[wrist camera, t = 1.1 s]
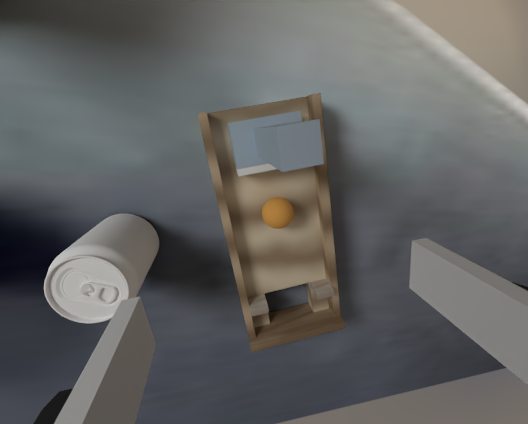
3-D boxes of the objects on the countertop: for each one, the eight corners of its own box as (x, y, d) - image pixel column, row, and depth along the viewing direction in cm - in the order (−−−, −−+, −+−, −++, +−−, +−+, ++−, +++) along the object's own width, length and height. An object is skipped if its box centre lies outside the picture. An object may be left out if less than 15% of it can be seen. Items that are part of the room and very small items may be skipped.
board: (199, 115, 33) (196, 112, 27) (307, 97, 34) (325, 91, 29) (247, 323, 43) (251, 352, 37) (329, 302, 44) (345, 327, 39)
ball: (257, 197, 34) (262, 205, 31) (287, 191, 35) (295, 198, 31) (262, 225, 36) (267, 236, 32) (290, 219, 36) (299, 229, 32)
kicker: (227, 123, 31) (235, 117, 17) (293, 112, 32) (353, 96, 18) (236, 172, 33) (251, 204, 18) (298, 160, 34) (358, 182, 19)
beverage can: (106, 202, 34) (51, 238, 23) (169, 225, 36) (146, 268, 25) (87, 256, 35) (27, 314, 24) (148, 274, 38) (118, 336, 26)
